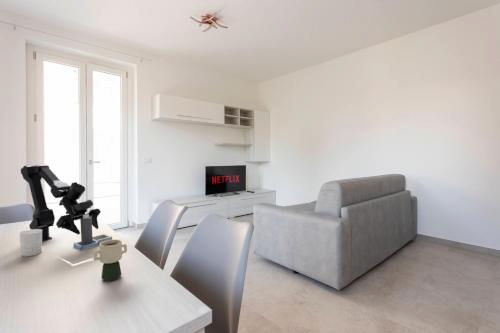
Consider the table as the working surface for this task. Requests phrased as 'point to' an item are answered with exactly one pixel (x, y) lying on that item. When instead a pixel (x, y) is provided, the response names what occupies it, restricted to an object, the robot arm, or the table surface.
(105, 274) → the beige and green cup
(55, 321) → the table surface
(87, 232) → the gray bottle
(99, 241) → the divided tray
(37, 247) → the white cup
